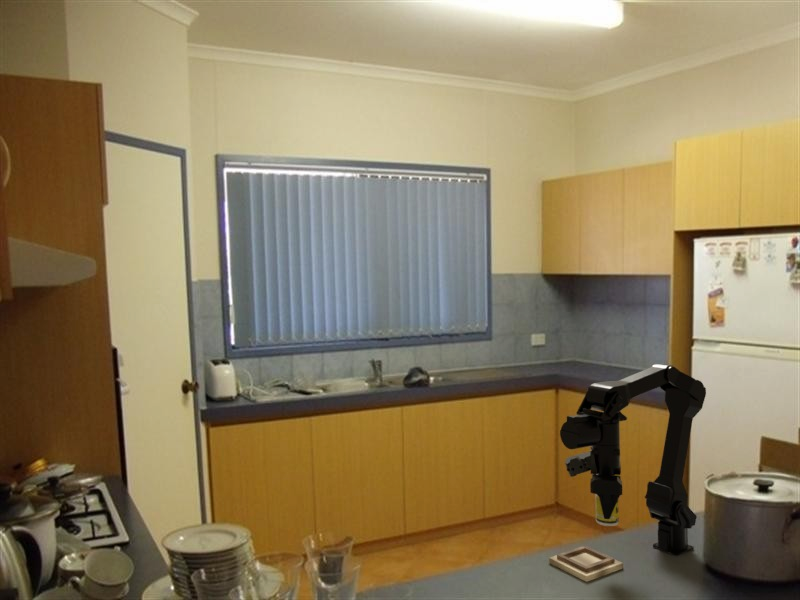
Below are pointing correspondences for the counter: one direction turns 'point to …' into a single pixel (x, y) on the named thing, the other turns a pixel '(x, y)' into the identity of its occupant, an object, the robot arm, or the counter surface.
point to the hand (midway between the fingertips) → (606, 514)
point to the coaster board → (585, 563)
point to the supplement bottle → (600, 518)
